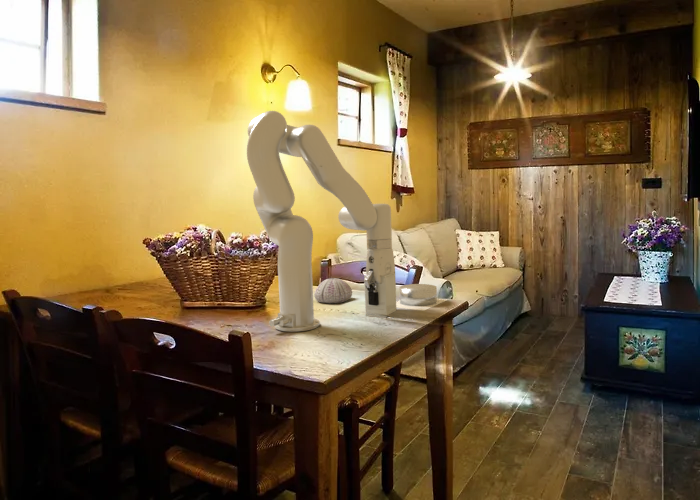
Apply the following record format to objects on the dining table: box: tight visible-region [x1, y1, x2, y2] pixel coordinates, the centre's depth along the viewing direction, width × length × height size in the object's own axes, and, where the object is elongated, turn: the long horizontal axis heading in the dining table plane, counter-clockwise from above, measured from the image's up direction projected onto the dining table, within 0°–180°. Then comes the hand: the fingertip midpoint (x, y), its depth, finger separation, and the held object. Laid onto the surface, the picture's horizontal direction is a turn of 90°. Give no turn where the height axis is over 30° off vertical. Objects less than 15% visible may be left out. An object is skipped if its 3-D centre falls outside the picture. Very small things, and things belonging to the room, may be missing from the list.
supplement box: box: [363, 272, 398, 319], centre depth 162 cm, size 7×7×13 cm
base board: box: [396, 298, 448, 311], centre depth 174 cm, size 18×14×1 cm
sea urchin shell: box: [313, 277, 353, 304], centre depth 186 cm, size 13×14×8 cm
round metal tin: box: [399, 283, 438, 306], centre depth 175 cm, size 12×12×5 cm
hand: (380, 301), depth 163 cm, fingers open, 7 cm apart
